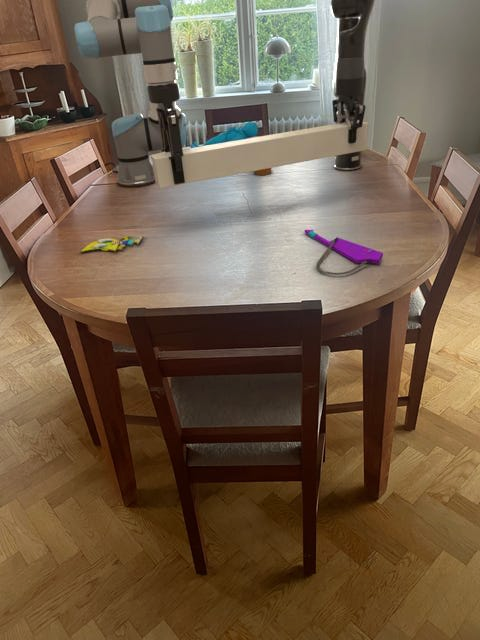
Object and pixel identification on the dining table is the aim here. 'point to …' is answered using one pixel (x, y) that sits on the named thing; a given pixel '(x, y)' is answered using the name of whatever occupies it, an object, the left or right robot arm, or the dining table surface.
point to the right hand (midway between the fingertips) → (346, 140)
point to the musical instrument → (347, 252)
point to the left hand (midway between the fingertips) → (177, 180)
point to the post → (259, 153)
